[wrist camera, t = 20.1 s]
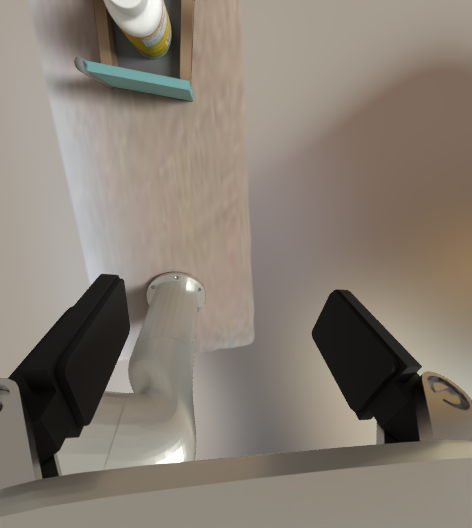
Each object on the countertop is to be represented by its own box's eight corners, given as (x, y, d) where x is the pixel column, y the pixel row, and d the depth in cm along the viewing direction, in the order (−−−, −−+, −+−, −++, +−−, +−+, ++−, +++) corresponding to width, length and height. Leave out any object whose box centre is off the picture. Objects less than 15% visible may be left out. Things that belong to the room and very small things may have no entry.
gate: (193, 103, 29) (189, 92, 23) (105, 87, 27) (76, 71, 21) (193, 92, 29) (189, 78, 23) (103, 75, 27) (73, 55, 21)
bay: (190, 92, 29) (189, 87, 26) (110, 73, 27) (101, 67, 25) (195, -22, 24) (193, -39, 21) (96, -54, 22) (83, -76, 20)
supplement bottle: (115, 13, 24) (65, -57, 16) (153, -16, 23) (122, -107, 15) (146, 69, 27) (117, 34, 18) (181, 44, 26) (167, -4, 17)
